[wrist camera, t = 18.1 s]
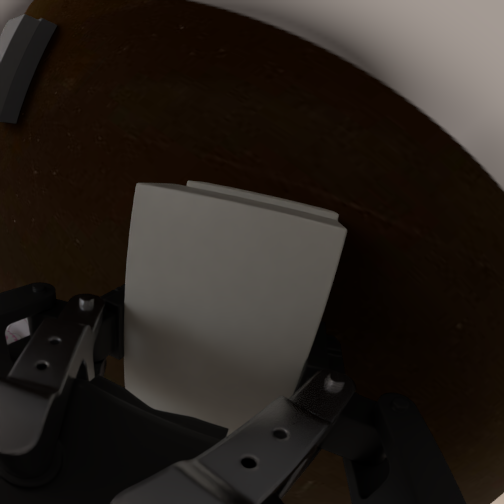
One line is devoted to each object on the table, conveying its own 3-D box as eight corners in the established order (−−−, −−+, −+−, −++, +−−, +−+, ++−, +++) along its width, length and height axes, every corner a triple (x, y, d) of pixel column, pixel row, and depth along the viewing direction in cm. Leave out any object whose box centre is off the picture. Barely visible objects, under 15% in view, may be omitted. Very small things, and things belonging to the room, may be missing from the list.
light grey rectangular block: (174, 183, 10) (135, 182, 8) (337, 220, 9) (348, 229, 7) (152, 391, 13) (127, 423, 10) (269, 430, 12) (260, 470, 9)
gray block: (38, 29, 15) (9, 17, 11) (57, 25, 15) (26, 11, 10) (1, 120, 18) (-31, 117, 13) (16, 124, 17) (-20, 121, 13)
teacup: (8, 367, 24) (-22, 387, 18) (-13, 281, 22) (-52, 295, 16) (66, 408, 22) (33, 439, 17) (42, 311, 20) (-8, 336, 14)
